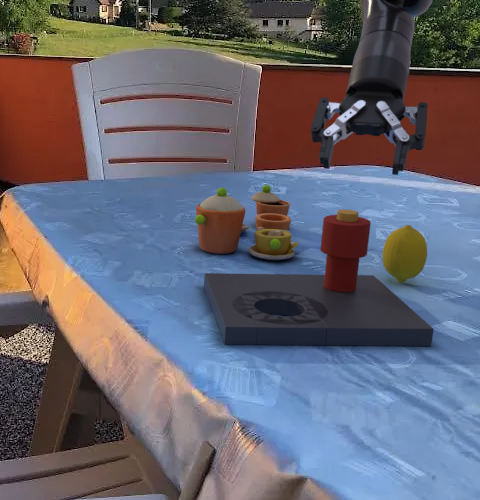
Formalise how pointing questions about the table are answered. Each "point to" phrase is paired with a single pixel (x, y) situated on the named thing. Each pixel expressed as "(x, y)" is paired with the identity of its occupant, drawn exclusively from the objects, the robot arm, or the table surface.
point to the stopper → (344, 248)
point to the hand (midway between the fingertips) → (360, 168)
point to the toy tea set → (231, 225)
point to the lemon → (404, 253)
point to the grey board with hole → (311, 312)
